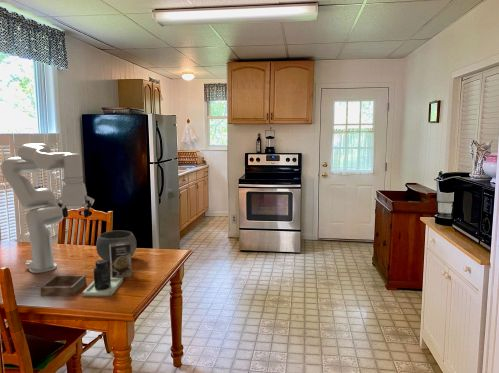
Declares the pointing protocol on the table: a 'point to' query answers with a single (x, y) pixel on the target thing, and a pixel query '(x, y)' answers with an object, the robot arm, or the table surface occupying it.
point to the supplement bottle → (102, 275)
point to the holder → (51, 290)
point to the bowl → (114, 237)
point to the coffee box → (120, 260)
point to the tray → (107, 292)
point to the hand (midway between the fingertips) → (76, 217)
